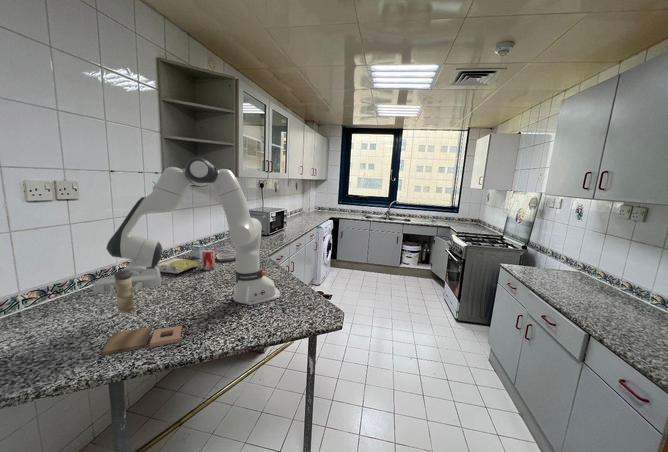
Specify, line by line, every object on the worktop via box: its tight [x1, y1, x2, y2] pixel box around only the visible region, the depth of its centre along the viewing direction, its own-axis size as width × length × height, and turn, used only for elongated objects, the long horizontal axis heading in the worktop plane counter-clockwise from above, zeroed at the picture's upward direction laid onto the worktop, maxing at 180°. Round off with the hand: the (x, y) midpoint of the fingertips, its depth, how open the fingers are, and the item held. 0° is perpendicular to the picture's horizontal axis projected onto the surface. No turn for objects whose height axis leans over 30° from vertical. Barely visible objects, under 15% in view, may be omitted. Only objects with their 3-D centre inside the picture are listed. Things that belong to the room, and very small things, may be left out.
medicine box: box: [191, 244, 205, 260], centre depth 196 cm, size 8×4×9 cm, turn 68°
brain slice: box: [215, 250, 236, 263], centre depth 198 cm, size 20×17×3 cm
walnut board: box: [101, 326, 153, 356], centre depth 99 cm, size 12×12×1 cm
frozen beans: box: [155, 257, 203, 275], centre depth 171 cm, size 21×6×25 cm
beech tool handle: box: [113, 269, 135, 314], centre depth 96 cm, size 4×4×14 cm
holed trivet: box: [149, 325, 183, 348], centre depth 102 cm, size 9×9×2 cm
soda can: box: [201, 248, 216, 271], centre depth 174 cm, size 7×7×12 cm
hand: (123, 290), depth 95 cm, fingers closed on beech tool handle, 4 cm apart
